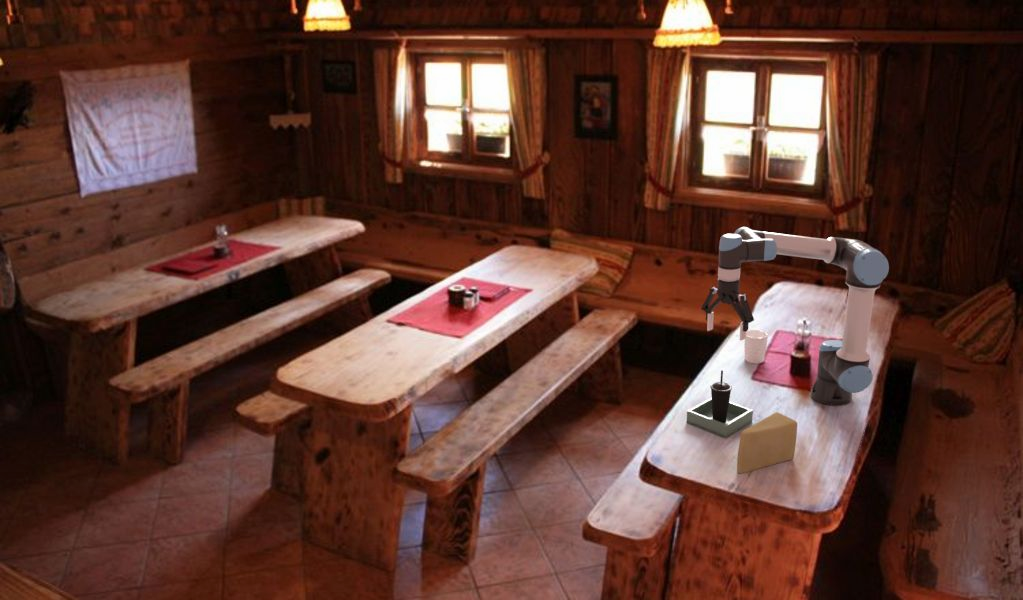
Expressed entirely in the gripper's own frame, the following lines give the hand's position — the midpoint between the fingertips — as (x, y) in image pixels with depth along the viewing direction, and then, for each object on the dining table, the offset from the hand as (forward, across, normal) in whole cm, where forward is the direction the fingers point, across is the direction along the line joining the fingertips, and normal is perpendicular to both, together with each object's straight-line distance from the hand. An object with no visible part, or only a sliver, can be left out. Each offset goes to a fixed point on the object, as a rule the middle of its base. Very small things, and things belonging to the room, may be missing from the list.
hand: (726, 334), depth 317 cm
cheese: (+35, -27, +17) cm, 47 cm away
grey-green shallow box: (+34, 0, +2) cm, 35 cm away
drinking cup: (+34, 0, +2) cm, 34 cm away
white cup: (+35, +21, -56) cm, 70 cm away
